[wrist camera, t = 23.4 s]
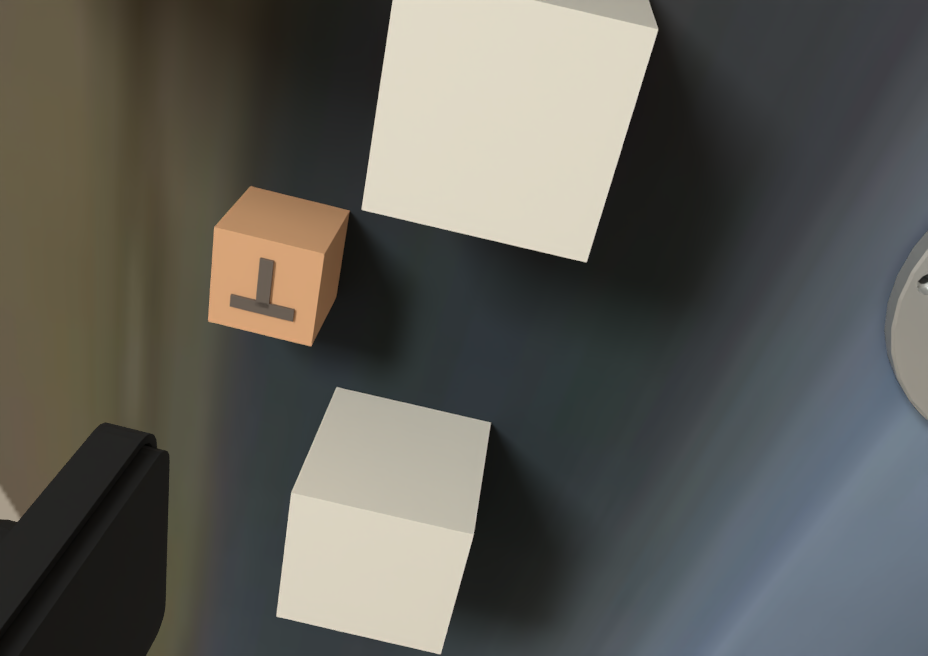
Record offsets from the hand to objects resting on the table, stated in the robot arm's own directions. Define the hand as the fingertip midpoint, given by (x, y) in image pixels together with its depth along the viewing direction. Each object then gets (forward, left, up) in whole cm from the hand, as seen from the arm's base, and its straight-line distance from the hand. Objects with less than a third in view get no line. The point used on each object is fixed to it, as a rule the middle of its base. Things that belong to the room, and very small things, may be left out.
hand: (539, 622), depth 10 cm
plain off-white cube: (+3, +19, -24) cm, 31 cm away
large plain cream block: (+2, 0, -24) cm, 24 cm away
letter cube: (+9, +9, -24) cm, 27 cm away
